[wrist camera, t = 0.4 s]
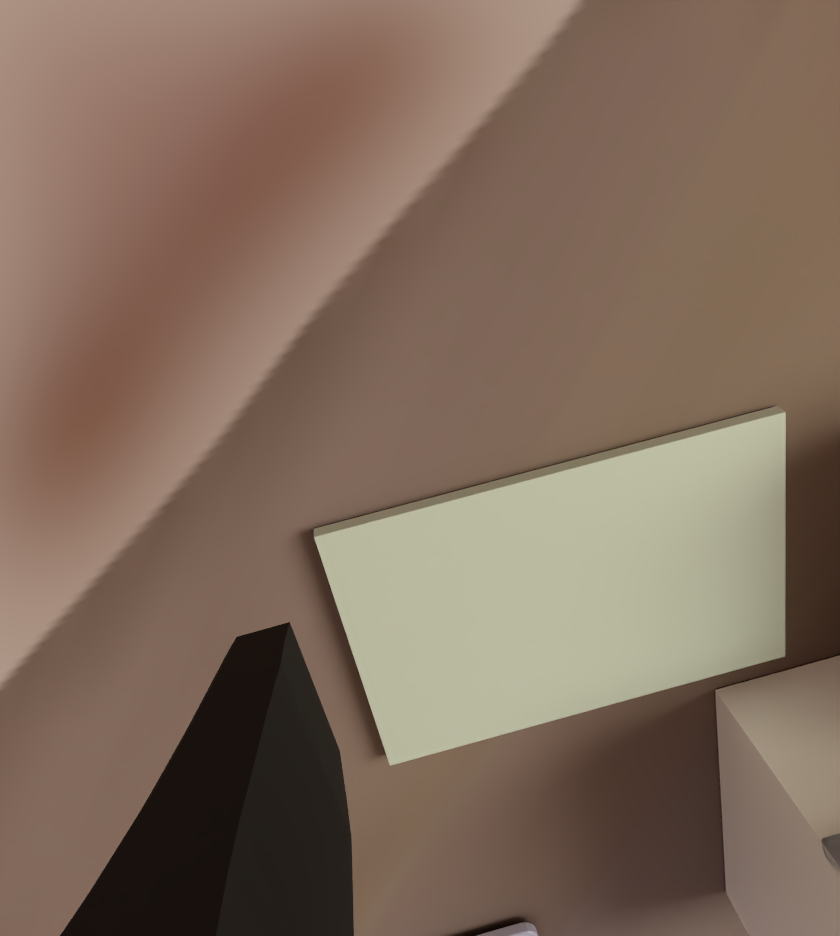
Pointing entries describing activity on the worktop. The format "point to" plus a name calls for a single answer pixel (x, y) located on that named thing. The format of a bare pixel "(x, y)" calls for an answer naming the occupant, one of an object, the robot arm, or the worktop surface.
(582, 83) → the worktop surface
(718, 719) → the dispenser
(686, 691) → the worktop surface
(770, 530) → the mat
